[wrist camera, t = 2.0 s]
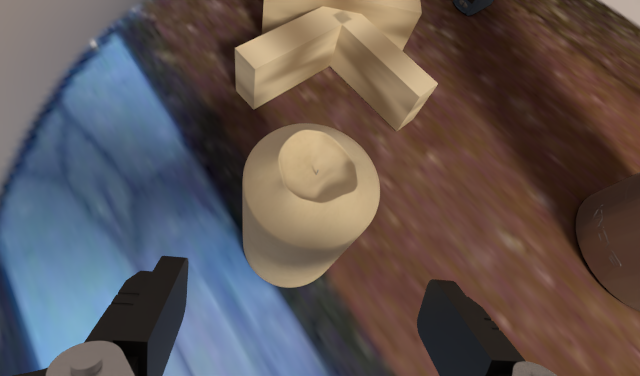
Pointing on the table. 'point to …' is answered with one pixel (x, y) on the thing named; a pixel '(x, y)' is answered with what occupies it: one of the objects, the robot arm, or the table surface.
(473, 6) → the vaping device
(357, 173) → the candle
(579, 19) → the table surface
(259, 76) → the letter k block
